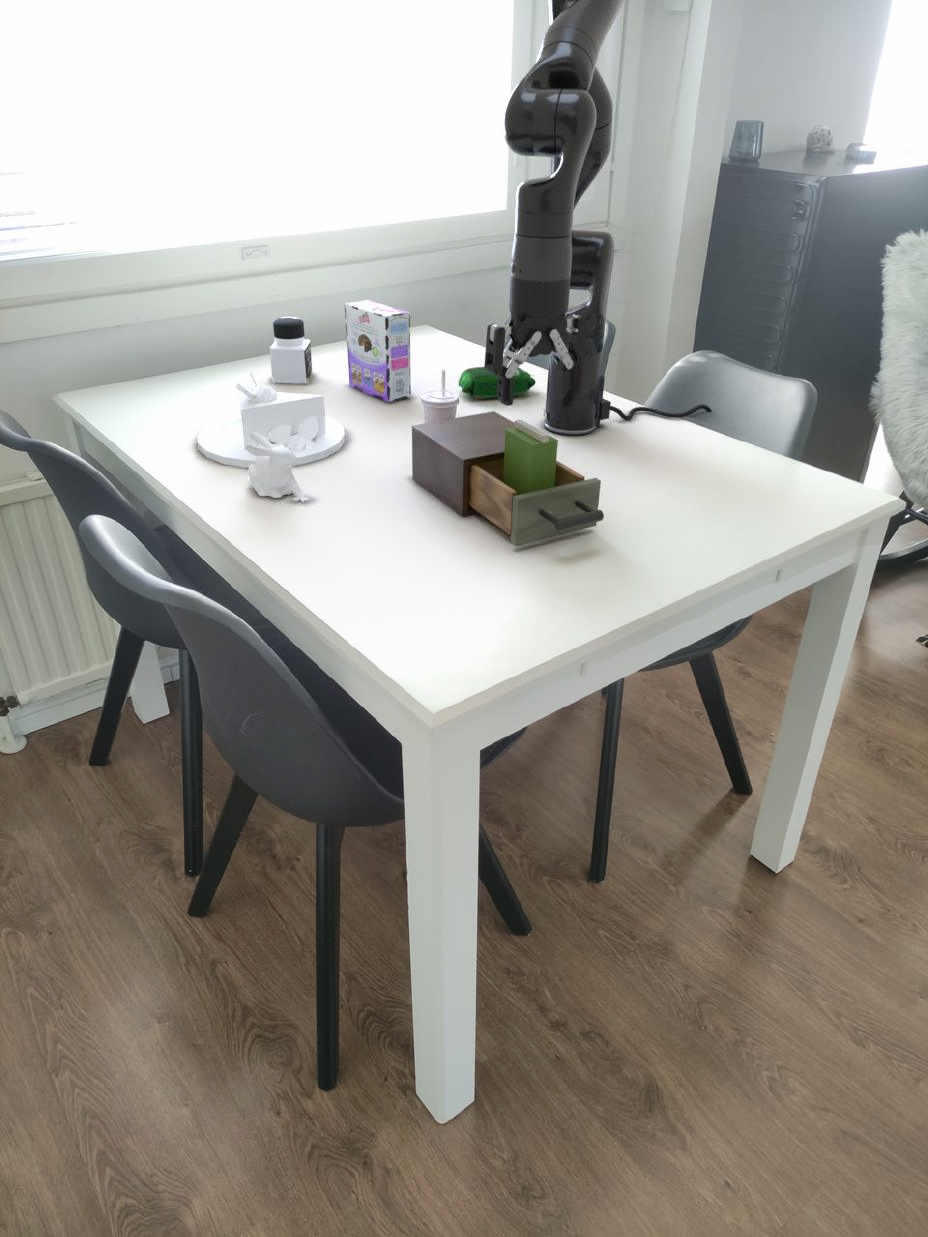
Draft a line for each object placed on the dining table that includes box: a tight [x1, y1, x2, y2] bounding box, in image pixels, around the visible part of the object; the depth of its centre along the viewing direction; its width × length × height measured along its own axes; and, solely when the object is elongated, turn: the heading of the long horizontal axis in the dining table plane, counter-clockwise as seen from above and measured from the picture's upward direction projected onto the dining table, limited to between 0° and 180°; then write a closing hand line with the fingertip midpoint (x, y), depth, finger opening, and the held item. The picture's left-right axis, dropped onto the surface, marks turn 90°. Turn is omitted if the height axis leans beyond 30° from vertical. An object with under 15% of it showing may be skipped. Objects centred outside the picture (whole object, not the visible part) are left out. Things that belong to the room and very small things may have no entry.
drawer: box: [468, 458, 605, 548], centre depth 127 cm, size 20×14×7 cm
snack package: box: [458, 366, 537, 400], centre depth 180 cm, size 7×16×5 cm, turn 104°
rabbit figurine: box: [246, 432, 311, 503], centre depth 136 cm, size 12×8×10 cm, turn 35°
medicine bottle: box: [269, 316, 313, 385], centre depth 185 cm, size 7×7×12 cm
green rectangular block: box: [503, 419, 559, 495], centre depth 128 cm, size 7×4×12 cm, turn 30°
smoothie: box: [419, 369, 460, 423], centre depth 151 cm, size 6×6×14 cm
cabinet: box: [411, 410, 515, 518], centre depth 139 cm, size 16×15×9 cm
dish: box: [197, 368, 346, 469], centre depth 154 cm, size 25×25×11 cm
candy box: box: [344, 299, 412, 403], centre depth 177 cm, size 14×6×16 cm, turn 40°
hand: (533, 399), depth 122 cm, fingers open, 8 cm apart
